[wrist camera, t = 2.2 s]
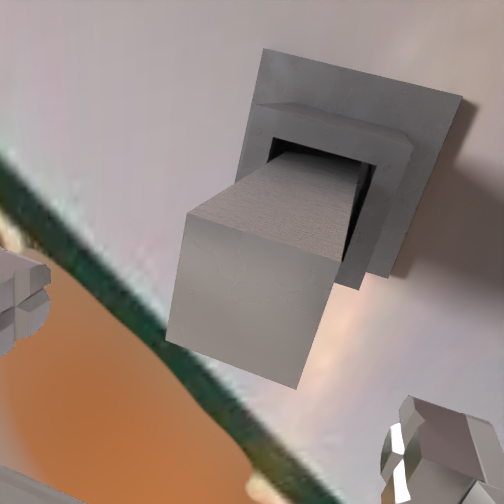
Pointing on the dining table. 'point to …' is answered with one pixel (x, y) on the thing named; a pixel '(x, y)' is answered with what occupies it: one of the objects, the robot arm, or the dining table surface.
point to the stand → (353, 144)
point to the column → (264, 263)
